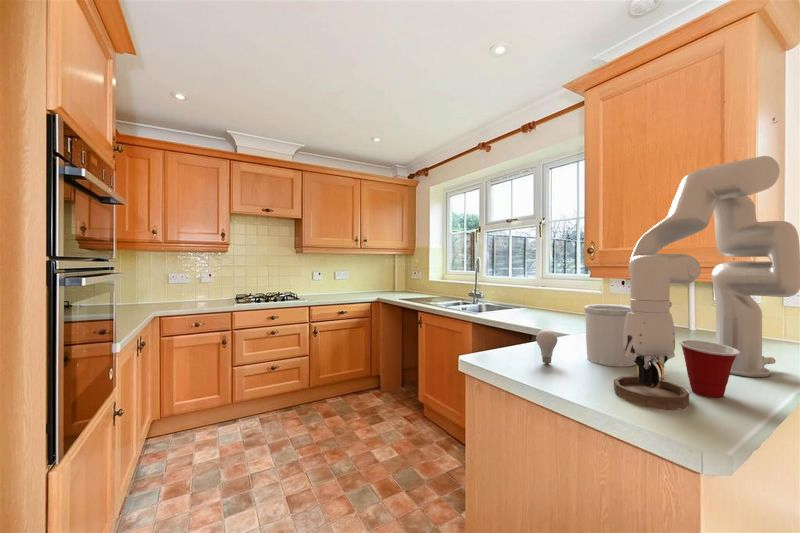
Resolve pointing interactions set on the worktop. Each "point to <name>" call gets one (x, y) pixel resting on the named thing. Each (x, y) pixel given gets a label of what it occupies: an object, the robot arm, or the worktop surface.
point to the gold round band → (659, 372)
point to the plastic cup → (708, 366)
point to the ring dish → (651, 393)
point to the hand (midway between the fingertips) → (649, 383)
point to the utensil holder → (606, 334)
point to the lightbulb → (546, 344)
